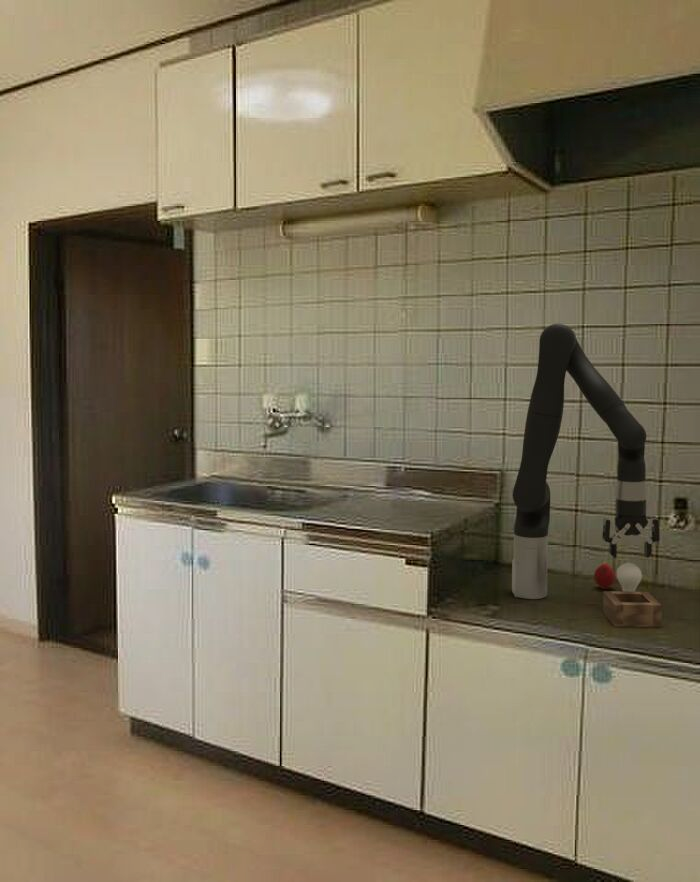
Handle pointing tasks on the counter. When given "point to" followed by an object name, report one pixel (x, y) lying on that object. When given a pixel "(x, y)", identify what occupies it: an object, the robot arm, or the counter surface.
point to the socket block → (632, 609)
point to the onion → (604, 576)
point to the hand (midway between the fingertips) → (630, 557)
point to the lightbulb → (629, 577)
